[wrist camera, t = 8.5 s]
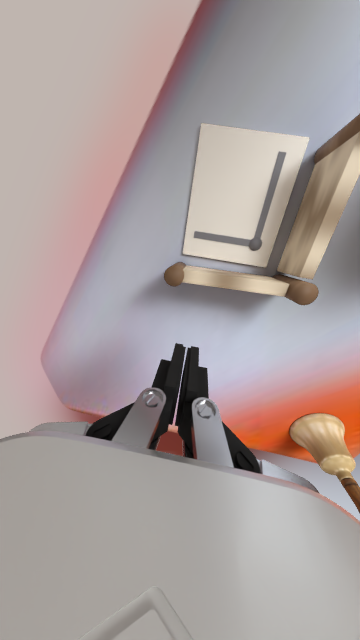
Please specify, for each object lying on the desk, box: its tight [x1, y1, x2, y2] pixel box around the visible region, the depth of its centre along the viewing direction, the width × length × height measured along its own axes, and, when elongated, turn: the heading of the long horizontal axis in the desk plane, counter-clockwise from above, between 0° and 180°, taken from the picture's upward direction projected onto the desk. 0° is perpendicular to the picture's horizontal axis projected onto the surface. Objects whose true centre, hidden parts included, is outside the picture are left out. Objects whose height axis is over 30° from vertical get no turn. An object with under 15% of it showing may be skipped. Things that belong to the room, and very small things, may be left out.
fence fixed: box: [272, 114, 360, 305], centre depth 16 cm, size 14×2×6 cm, turn 171°
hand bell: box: [290, 413, 360, 513], centre depth 22 cm, size 8×8×16 cm
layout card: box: [183, 123, 310, 267], centre depth 18 cm, size 12×10×1 cm
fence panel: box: [164, 262, 289, 297], centre depth 18 cm, size 12×2×6 cm, turn 83°
